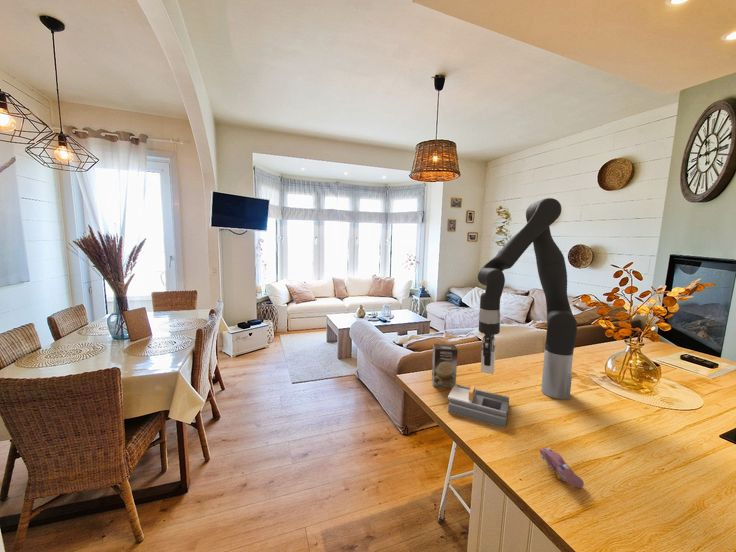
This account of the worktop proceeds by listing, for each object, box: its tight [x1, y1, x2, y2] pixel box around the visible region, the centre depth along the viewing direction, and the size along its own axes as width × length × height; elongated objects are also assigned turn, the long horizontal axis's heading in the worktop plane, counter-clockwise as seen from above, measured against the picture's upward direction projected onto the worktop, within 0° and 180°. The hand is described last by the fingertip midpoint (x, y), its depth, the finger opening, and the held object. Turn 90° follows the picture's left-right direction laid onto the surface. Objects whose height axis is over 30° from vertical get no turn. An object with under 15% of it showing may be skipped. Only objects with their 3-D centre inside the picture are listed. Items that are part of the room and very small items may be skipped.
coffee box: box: [431, 343, 459, 388], centre depth 123 cm, size 9×6×16 cm
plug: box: [480, 344, 496, 375], centre depth 115 cm, size 4×4×10 cm
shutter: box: [447, 384, 476, 403], centre depth 108 cm, size 8×9×4 cm
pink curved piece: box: [539, 446, 585, 489], centre depth 76 cm, size 10×5×7 cm, turn 7°
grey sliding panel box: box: [447, 384, 510, 429], centre depth 105 cm, size 18×15×4 cm
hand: (487, 363), depth 115 cm, fingers closed on plug, 4 cm apart
